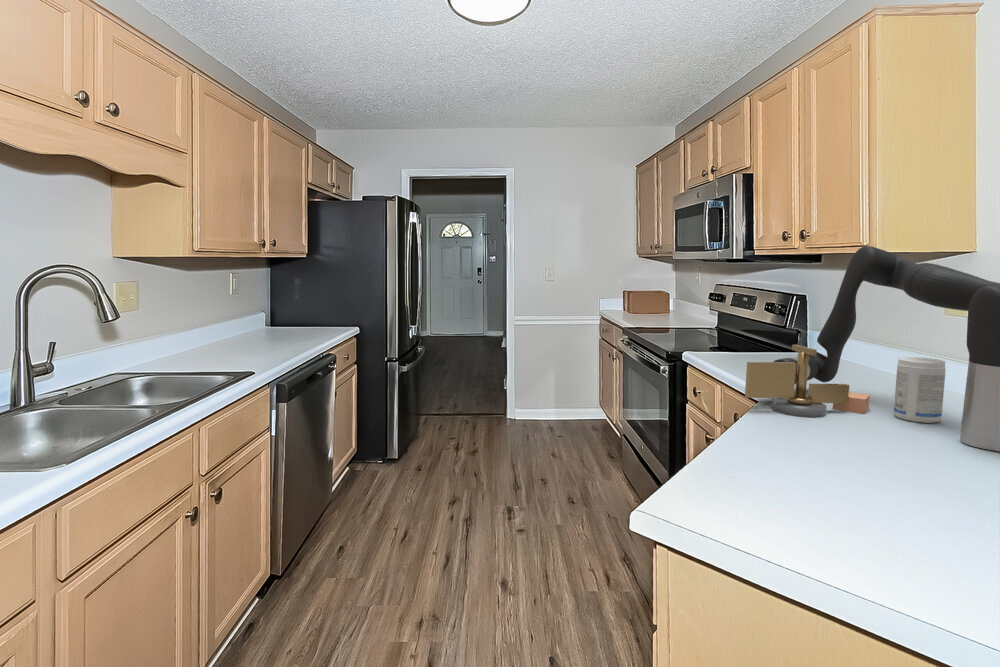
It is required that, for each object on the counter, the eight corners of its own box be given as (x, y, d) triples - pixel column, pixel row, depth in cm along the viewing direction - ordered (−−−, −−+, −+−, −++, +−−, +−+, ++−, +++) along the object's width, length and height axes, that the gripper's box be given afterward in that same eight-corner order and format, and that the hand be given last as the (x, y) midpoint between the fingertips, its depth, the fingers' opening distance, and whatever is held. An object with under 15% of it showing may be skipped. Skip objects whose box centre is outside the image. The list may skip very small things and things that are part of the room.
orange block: (868, 409, 151) (870, 394, 150) (863, 414, 146) (865, 399, 145) (838, 405, 155) (839, 390, 155) (832, 410, 150) (833, 394, 150)
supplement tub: (944, 419, 141) (950, 360, 140) (936, 426, 135) (943, 364, 133) (897, 411, 148) (903, 355, 147) (887, 418, 142) (893, 359, 140)
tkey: (835, 398, 152) (839, 345, 150) (857, 406, 143) (862, 350, 141) (737, 397, 151) (741, 344, 149) (753, 406, 142) (757, 349, 140)
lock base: (834, 412, 146) (835, 405, 146) (811, 419, 139) (812, 411, 139) (787, 403, 156) (788, 396, 155) (763, 409, 149) (764, 401, 148)
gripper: (766, 354, 163) (732, 360, 153) (815, 361, 153) (782, 367, 143) (765, 380, 164) (731, 387, 154) (812, 389, 154) (780, 397, 143)
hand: (755, 378), depth 148 cm, fingers closed
